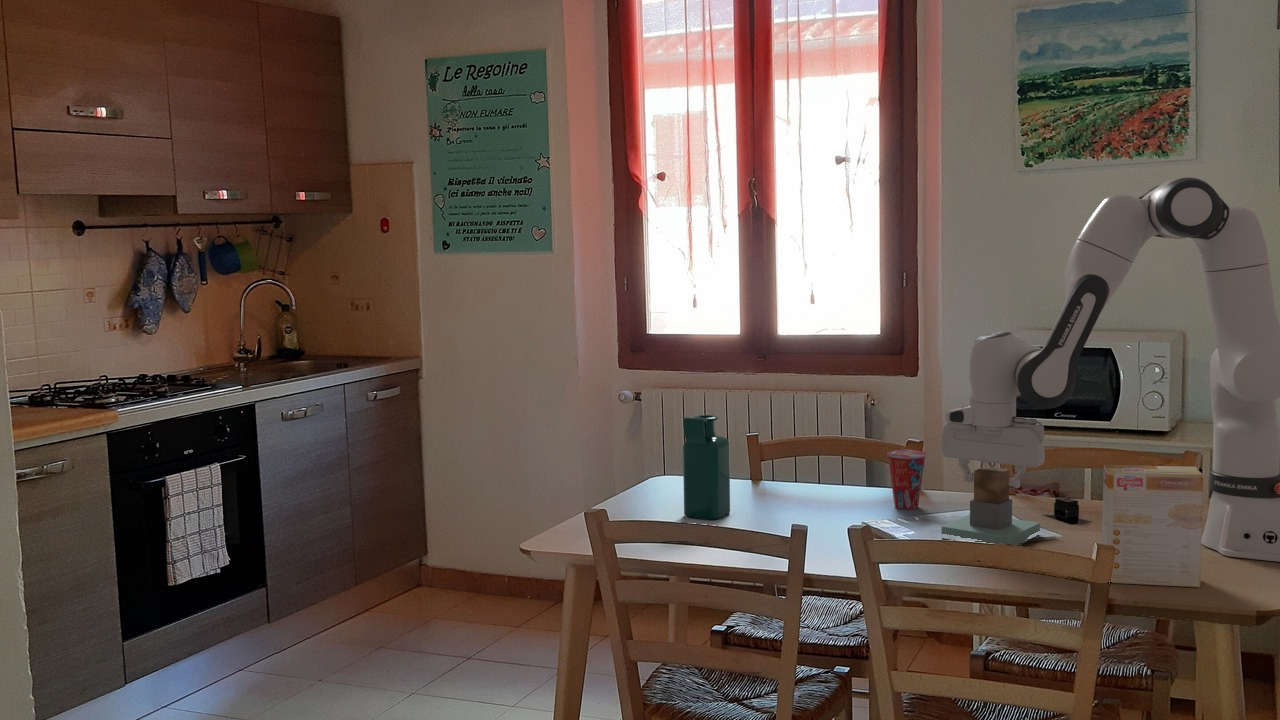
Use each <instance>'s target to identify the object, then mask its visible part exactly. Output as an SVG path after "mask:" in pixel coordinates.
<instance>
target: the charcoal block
mask: <svg viewBox="0 0 1280 720" xmlns="http://www.w3.org/2000/svg"><path fill="white" fill-rule="evenodd" d="M969 515H970V526H977V527H983V528H989V529H995V530H1000V529H1002V528H1004V527H1006V526H1009V525H1011V524H1012V519H1013V498H1009V500H1006V501H1004V502H1002V503H999V504H994V503H987V502H980V501H974V498H973V499H971V500H970V501H969Z"/></svg>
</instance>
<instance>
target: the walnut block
mask: <svg viewBox="0 0 1280 720" xmlns="http://www.w3.org/2000/svg"><path fill="white" fill-rule="evenodd" d="M973 472H974V481H973V499H974V501H980V502H987V503H994V504H999V503H1002V502H1004V501H1006V500H1009V499H1010V487H1009V484H1010V483H1009V479H1010V469H1009V468H1001V467H993V466H983V467H981V468H977V469H975V470H974V471H973Z"/></svg>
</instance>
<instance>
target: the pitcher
mask: <svg viewBox="0 0 1280 720" xmlns="http://www.w3.org/2000/svg"><path fill="white" fill-rule="evenodd" d="M718 420H719V417H718V416H717V415H713V414H700V415H696V416H694V417H684V418H683V431H684V432H683V433H684V439H685V440H684V442H683V444H682V460H683V461H682V465H683V466H682V467H683V469H682V470H683V472H682V473H683V474H682V475H683V514H684V516H685V517H686V518H690V519H699V520H707V521H716V520H719V519H721V518H723V517H725V516H727V515H729V514H730V512H731V484H730V481H731V477H730V475H731V474H730V473H731V472H730V471H731V469H730V466H731V465H730V443H729V440H728V439H727V438H726V437H724V436H722V435H716V433H715V421H718Z"/></svg>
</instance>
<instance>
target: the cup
mask: <svg viewBox="0 0 1280 720" xmlns="http://www.w3.org/2000/svg"><path fill="white" fill-rule="evenodd" d="M886 455H887V456H888V465H889V473H890V482H891V488H892V496H893V497H892V498H893V504H894V508H895V509H900V510H915V509H918V508H919V504H920V498H921V491H922V483H923V477H924V476H923V474H924V466H925V459H926V456H927V453H926V452H923V451H919V450H913V449H895V450H891V451H887V453H886Z"/></svg>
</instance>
